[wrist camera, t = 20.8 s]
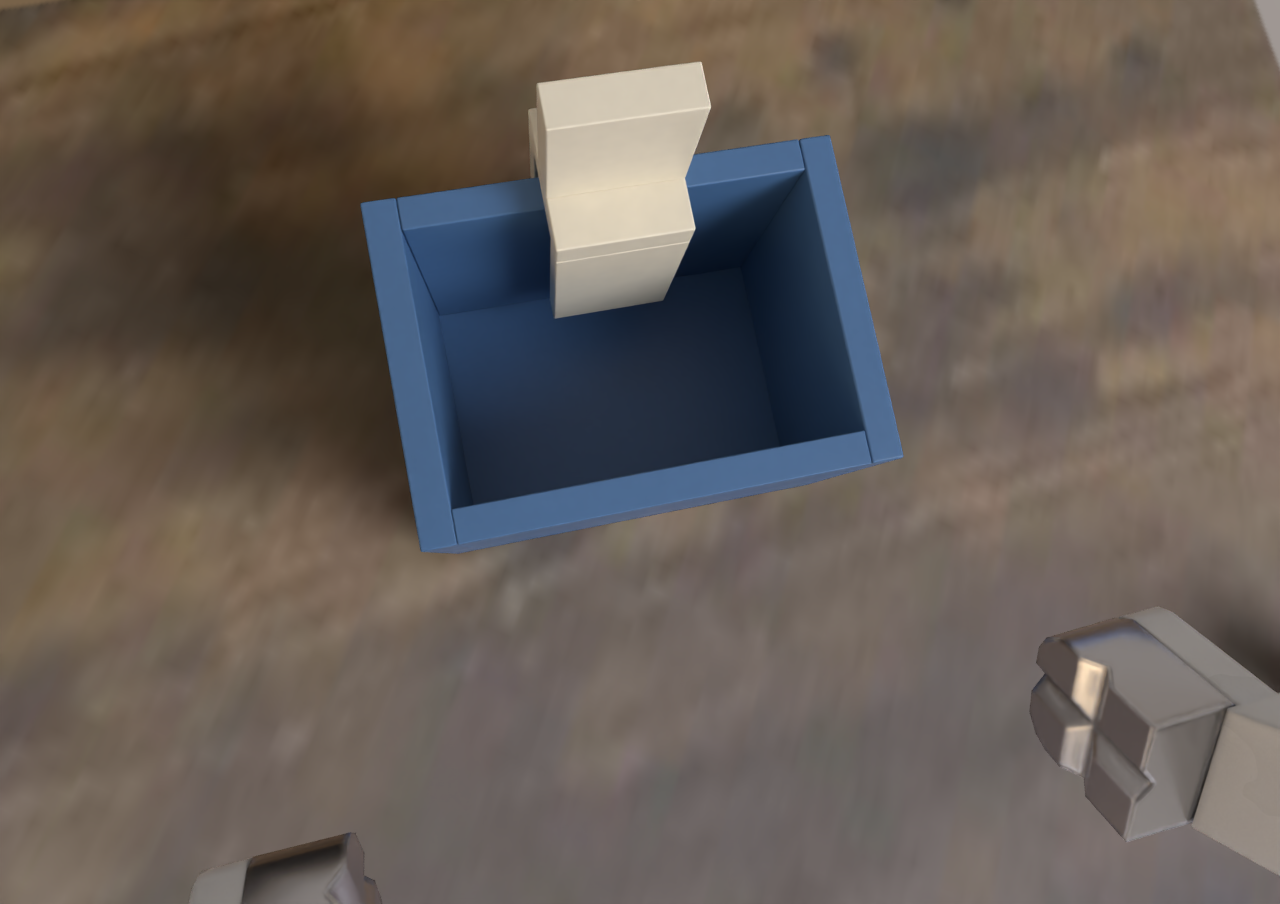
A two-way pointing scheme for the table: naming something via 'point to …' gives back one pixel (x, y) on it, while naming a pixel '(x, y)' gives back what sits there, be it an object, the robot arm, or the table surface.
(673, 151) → the cream l-shaped step block
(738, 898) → the table surface
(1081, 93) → the table surface
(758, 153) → the box
